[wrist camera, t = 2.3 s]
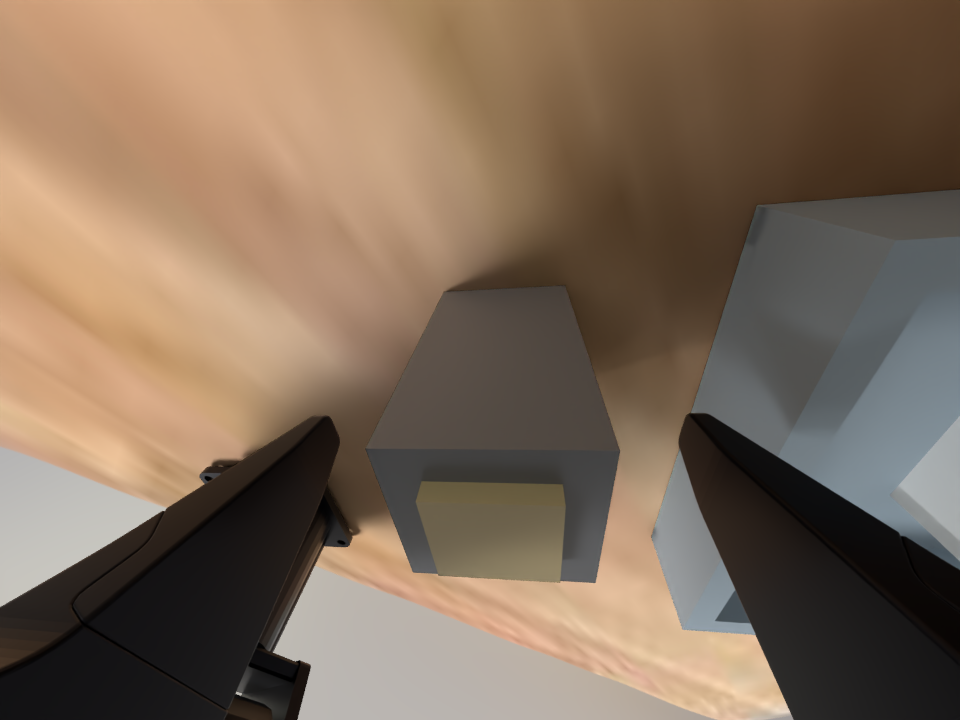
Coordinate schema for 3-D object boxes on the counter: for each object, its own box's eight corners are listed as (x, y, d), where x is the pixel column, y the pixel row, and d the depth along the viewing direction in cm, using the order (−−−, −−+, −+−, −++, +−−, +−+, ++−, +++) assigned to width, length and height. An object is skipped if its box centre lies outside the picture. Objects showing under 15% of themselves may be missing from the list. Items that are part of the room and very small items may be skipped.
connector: (560, 384, 13) (599, 604, 7) (458, 386, 14) (408, 592, 7) (564, 285, 11) (627, 472, 5) (443, 291, 11) (355, 468, 5)
